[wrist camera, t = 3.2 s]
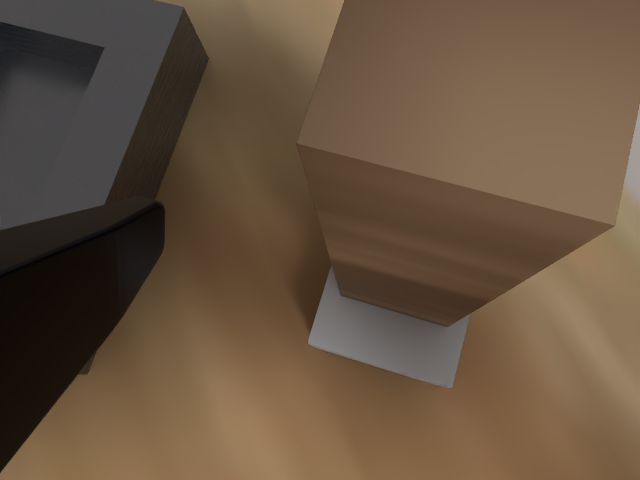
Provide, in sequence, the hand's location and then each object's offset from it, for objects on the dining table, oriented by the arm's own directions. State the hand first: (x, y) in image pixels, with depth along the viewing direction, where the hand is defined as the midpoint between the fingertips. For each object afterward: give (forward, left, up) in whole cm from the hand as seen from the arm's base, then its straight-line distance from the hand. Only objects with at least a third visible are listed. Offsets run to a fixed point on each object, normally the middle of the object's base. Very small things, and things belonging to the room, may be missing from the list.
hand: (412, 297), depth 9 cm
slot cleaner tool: (+1, +2, -9) cm, 9 cm away
